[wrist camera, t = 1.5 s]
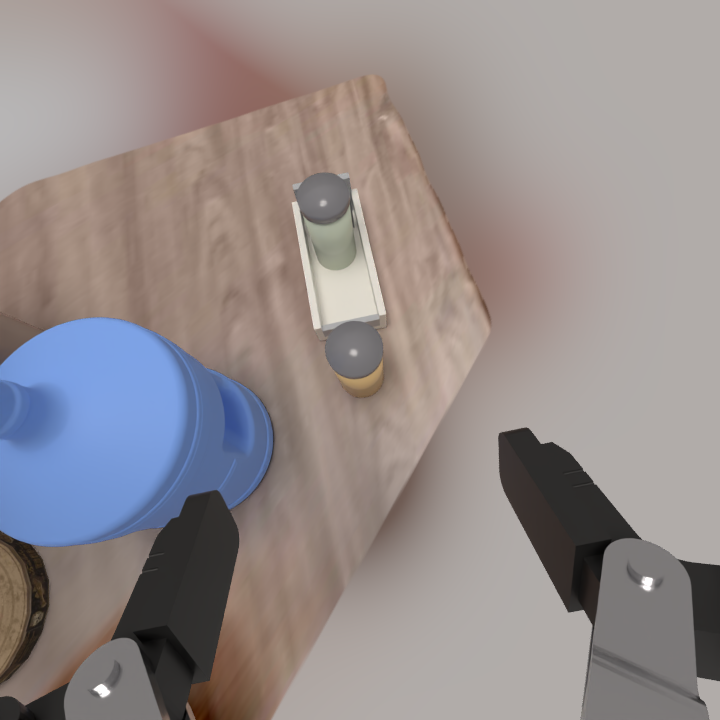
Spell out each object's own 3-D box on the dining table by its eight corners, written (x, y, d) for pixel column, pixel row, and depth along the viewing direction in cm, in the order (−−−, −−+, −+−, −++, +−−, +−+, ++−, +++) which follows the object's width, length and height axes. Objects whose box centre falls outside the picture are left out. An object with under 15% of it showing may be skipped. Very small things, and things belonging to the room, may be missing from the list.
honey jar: (335, 395, 47) (320, 372, 36) (343, 352, 48) (330, 317, 38) (381, 401, 46) (378, 379, 35) (387, 357, 47) (386, 324, 37)
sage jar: (312, 268, 50) (291, 214, 40) (319, 232, 52) (302, 170, 41) (353, 273, 50) (343, 219, 39) (360, 236, 51) (352, 174, 41)
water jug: (223, 545, 43) (-53, 663, 16) (118, 468, 46) (-260, 460, 19) (301, 421, 46) (178, 346, 19) (197, 357, 49) (-32, 217, 22)
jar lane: (386, 326, 49) (386, 303, 42) (320, 340, 49) (308, 319, 42) (359, 209, 54) (354, 171, 47) (298, 221, 54) (286, 185, 47)
